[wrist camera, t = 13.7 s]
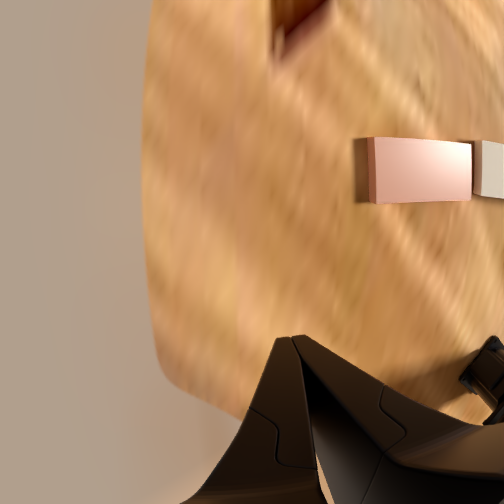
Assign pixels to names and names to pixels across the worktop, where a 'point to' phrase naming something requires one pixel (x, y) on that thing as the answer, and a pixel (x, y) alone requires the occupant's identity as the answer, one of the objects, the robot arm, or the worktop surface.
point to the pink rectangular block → (418, 170)
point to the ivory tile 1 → (488, 169)
